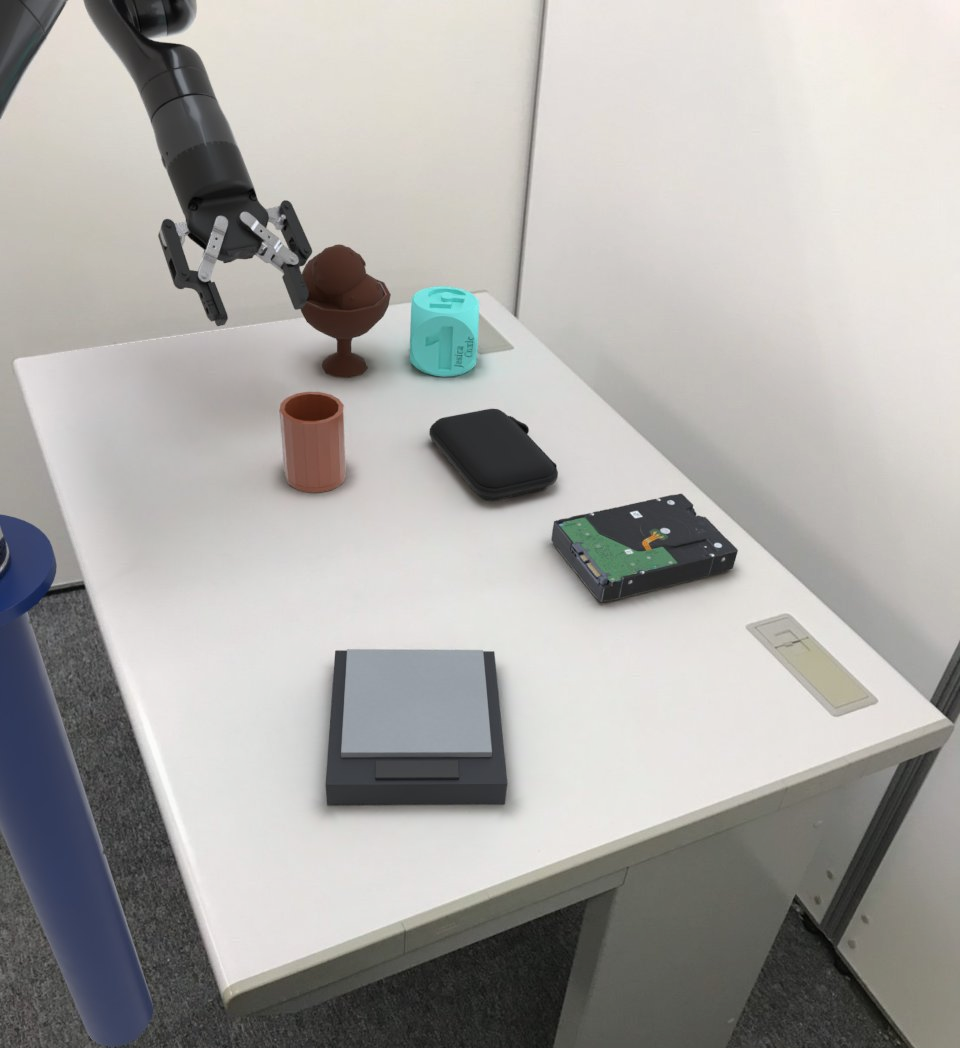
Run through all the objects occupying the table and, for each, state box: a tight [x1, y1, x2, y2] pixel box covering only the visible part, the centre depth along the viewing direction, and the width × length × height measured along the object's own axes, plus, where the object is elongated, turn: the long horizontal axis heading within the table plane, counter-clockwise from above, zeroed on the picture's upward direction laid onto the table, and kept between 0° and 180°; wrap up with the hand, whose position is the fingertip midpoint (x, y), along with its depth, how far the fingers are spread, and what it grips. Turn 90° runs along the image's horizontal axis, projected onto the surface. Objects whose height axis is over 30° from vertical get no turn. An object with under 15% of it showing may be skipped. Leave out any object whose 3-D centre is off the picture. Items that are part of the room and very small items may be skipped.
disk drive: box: [551, 493, 739, 603], centre depth 96 cm, size 10×3×15 cm
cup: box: [278, 391, 347, 494], centre depth 101 cm, size 6×6×8 cm
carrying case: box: [428, 408, 559, 501], centre depth 107 cm, size 11×3×15 cm
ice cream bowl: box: [300, 244, 391, 378], centre depth 117 cm, size 11×11×15 cm
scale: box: [325, 648, 508, 807], centre depth 77 cm, size 13×14×3 cm
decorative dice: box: [409, 285, 480, 378], centre depth 122 cm, size 8×8×8 cm
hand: (263, 314), depth 101 cm, fingers open, 8 cm apart
